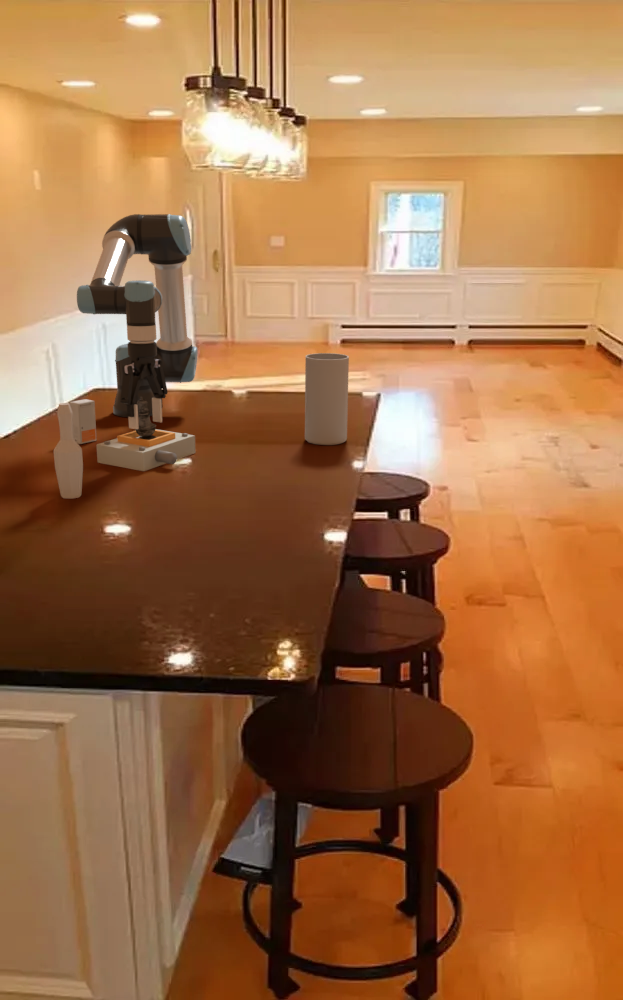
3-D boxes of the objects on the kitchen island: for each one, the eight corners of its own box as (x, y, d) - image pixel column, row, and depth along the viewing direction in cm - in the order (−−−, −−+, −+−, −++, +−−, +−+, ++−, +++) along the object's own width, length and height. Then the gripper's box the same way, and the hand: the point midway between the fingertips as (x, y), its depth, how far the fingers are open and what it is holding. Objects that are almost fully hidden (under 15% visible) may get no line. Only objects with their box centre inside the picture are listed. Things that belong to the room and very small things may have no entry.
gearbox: (150, 445, 253) (149, 423, 251) (210, 455, 243) (209, 432, 241) (97, 462, 235) (96, 438, 233) (159, 474, 225) (158, 449, 223)
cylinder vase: (300, 444, 256) (300, 358, 248) (310, 434, 268) (311, 352, 260) (342, 447, 253) (344, 360, 245) (350, 437, 265) (352, 354, 257)
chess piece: (153, 442, 235) (147, 398, 231) (132, 442, 236) (126, 399, 232) (160, 435, 240) (155, 393, 236) (140, 435, 241) (135, 393, 237)
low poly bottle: (57, 500, 203) (49, 407, 196) (57, 492, 209) (49, 401, 202) (85, 498, 205) (78, 406, 198) (84, 490, 211) (78, 400, 204)
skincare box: (81, 444, 252) (78, 403, 249) (71, 442, 255) (68, 401, 251) (97, 440, 257) (95, 400, 253) (88, 438, 259) (85, 398, 256)
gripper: (157, 335, 241) (160, 416, 248) (102, 344, 223) (107, 431, 230) (179, 337, 237) (182, 419, 244) (124, 347, 219) (129, 434, 226)
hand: (145, 424), depth 237 cm, fingers open, 9 cm apart
